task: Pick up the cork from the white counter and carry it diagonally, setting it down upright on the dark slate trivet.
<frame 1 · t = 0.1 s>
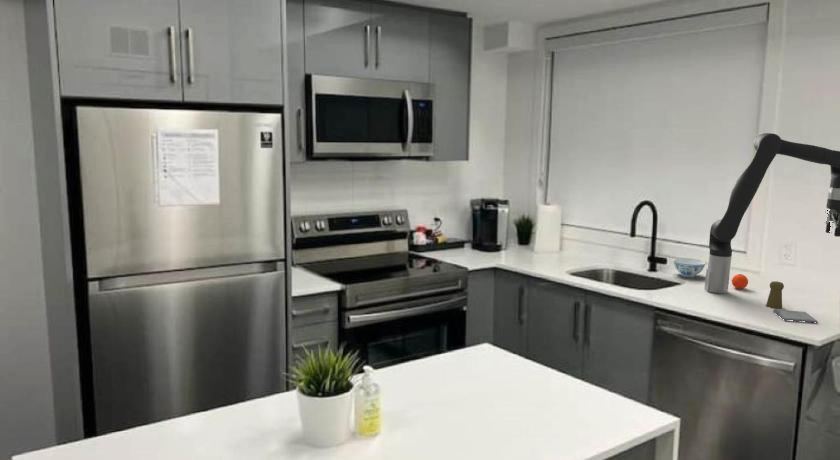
hand: (832, 234, 267), 29 cm above the countertop, tool pointing down, fingers open, 8 cm apart
clementine: (739, 288, 287), on the countertop
trivet: (794, 317, 244), on the countertop
cork: (774, 307, 258), on the countertop
chinaware: (687, 276, 309), on the countertop
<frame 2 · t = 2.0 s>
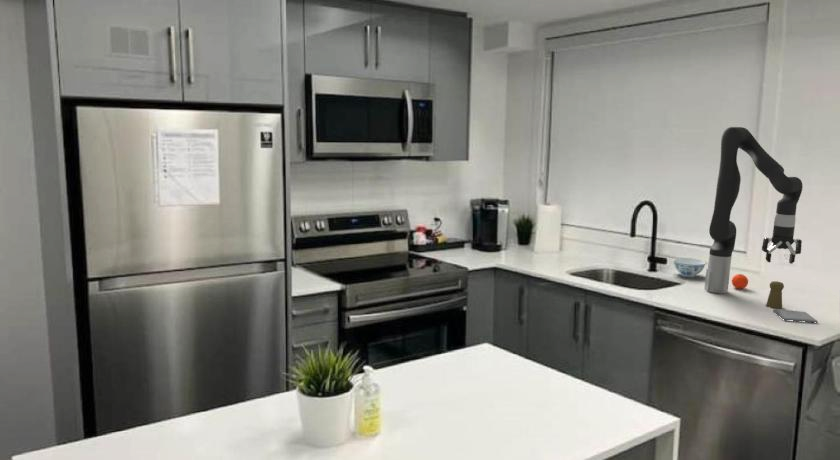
hand: (779, 262, 255), 19 cm above the countertop, tool pointing down, fingers open, 8 cm apart
nothing on the countertop moved.
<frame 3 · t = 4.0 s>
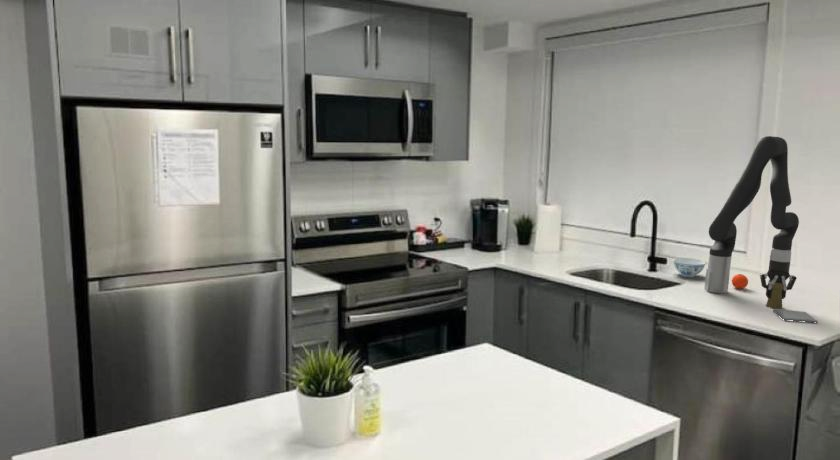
hand: (775, 298, 258), 4 cm above the countertop, tool pointing down, fingers closed on cork, 4 cm apart
cork: (774, 307, 258), on the countertop, touching gripper
everything else where it was.
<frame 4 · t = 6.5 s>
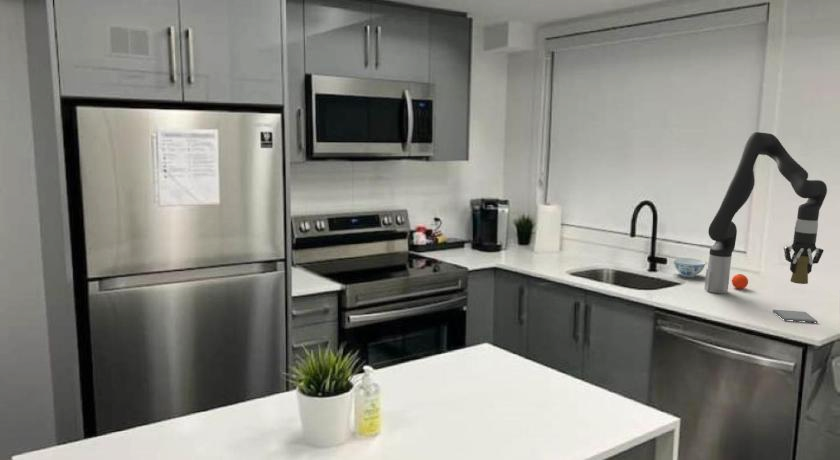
hand: (800, 272, 241), 19 cm above the countertop, tool pointing down, fingers closed on cork, 4 cm apart
cork: (799, 282, 242), point 15 cm above the countertop, touching gripper
everything else where it was.
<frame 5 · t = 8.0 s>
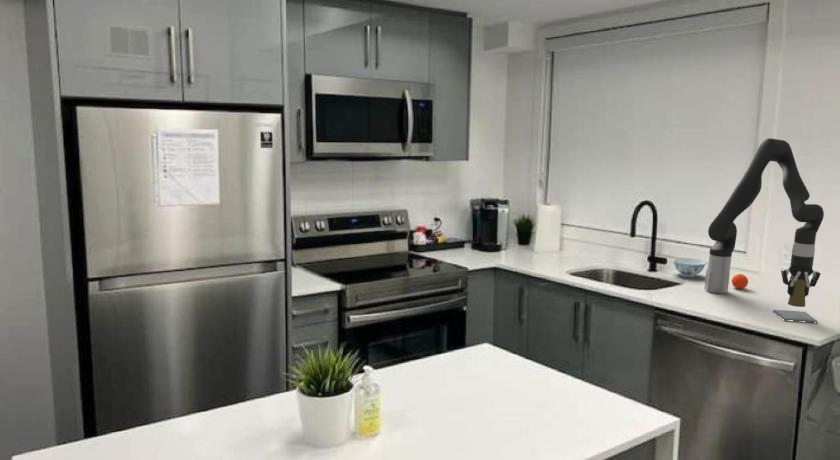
hand: (797, 295, 243), 9 cm above the countertop, tool pointing down, fingers closed on cork, 4 cm apart
cork: (796, 305, 243), point 5 cm above the countertop, touching gripper
everything else where it was.
when the fingers open (6 cm above the countertop, at t = 9.2 s): cork stays where it is, resting on trivet.
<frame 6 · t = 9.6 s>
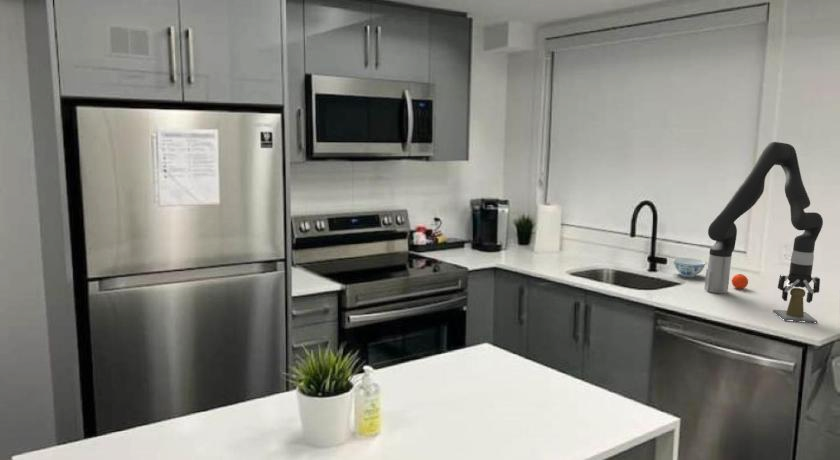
hand: (796, 301, 243), 7 cm above the countertop, tool pointing down, fingers open, 8 cm apart
cork: (794, 315, 244), point 1 cm above the countertop, touching trivet
everything else where it was.
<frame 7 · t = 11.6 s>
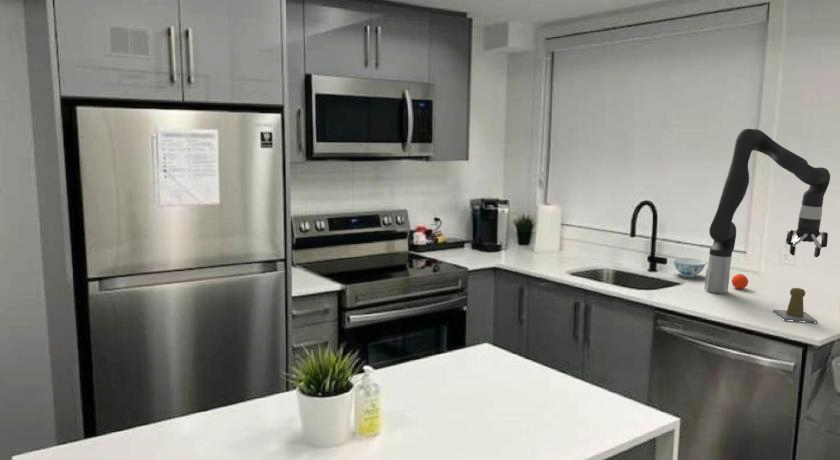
hand: (804, 255, 247), 24 cm above the countertop, tool pointing down, fingers open, 8 cm apart
nothing on the countertop moved.
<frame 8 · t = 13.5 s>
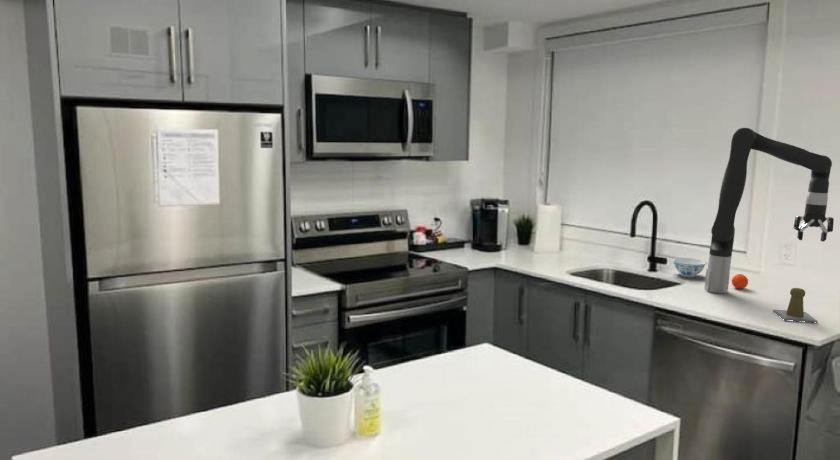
hand: (811, 240, 258), 28 cm above the countertop, tool pointing down, fingers open, 8 cm apart
nothing on the countertop moved.
at the end: cork inside the target area on the trivet (0.2 cm from its centre), point 0.9 cm above the trivet's base; cork tilted 0°; the gripper is holding nothing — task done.
